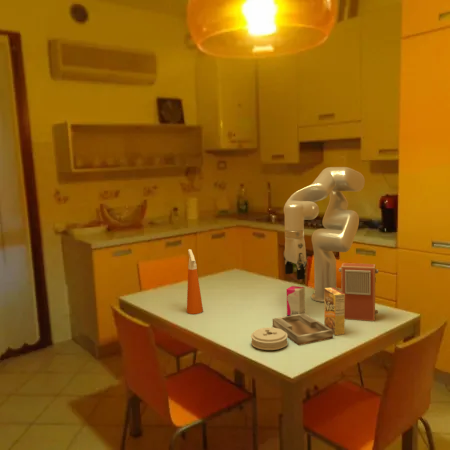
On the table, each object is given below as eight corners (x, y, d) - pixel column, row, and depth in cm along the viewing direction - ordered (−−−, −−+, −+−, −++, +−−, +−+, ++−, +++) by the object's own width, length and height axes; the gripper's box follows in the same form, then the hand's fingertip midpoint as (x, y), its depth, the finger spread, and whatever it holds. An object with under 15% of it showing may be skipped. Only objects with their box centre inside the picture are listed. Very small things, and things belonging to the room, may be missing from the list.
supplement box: (305, 313, 195) (305, 286, 193) (299, 318, 190) (299, 290, 188) (292, 311, 198) (292, 285, 196) (286, 316, 193) (285, 289, 191)
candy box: (323, 327, 179) (323, 288, 177) (334, 325, 180) (333, 286, 178) (334, 335, 171) (334, 294, 168) (345, 334, 172) (345, 293, 169)
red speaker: (339, 313, 193) (378, 316, 188) (337, 319, 187) (377, 322, 182) (339, 262, 190) (378, 263, 185) (337, 266, 183) (378, 268, 178)
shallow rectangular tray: (304, 320, 187) (304, 313, 187) (333, 338, 169) (332, 330, 168) (272, 326, 182) (272, 318, 182) (298, 345, 164) (297, 337, 163)
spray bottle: (199, 305, 211) (196, 247, 207) (204, 313, 200) (201, 252, 196) (184, 307, 209) (180, 248, 205) (188, 315, 199) (184, 253, 195)
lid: (268, 335, 175) (267, 322, 174) (295, 344, 165) (294, 330, 165) (243, 345, 166) (243, 332, 165) (271, 355, 157) (270, 341, 156)
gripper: (313, 236, 182) (314, 280, 184) (292, 230, 198) (292, 270, 200) (296, 238, 179) (297, 282, 181) (276, 232, 195) (276, 272, 198)
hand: (294, 276), depth 191 cm, fingers open, 9 cm apart
